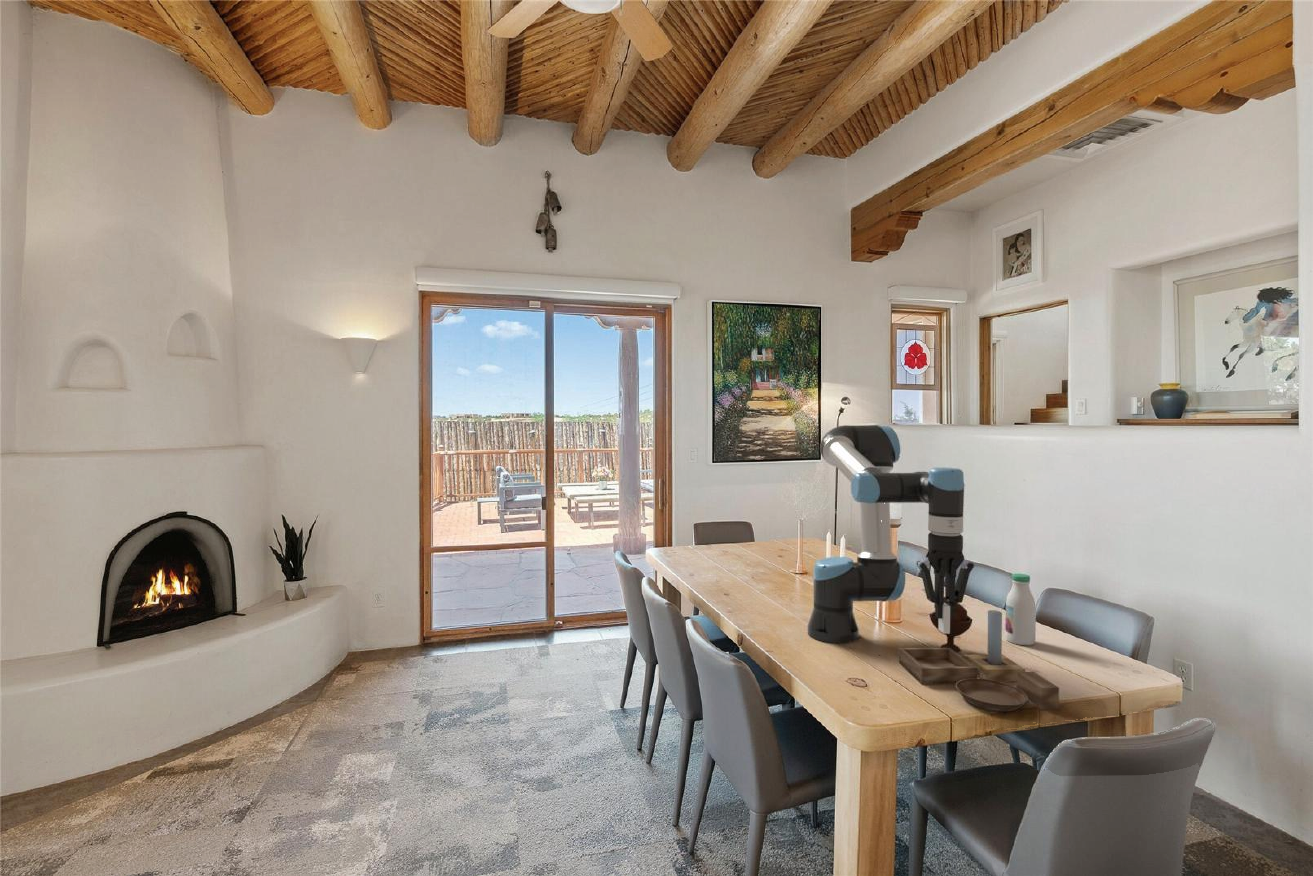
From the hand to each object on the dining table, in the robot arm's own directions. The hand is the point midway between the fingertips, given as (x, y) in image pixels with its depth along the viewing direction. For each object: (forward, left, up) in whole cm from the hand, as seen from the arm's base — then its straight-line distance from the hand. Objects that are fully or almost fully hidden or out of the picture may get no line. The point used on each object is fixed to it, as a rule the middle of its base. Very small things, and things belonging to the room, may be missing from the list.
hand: (944, 631), depth 147 cm
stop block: (+21, -3, -15) cm, 26 cm away
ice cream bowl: (+17, +30, -16) cm, 37 cm away
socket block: (+20, +13, -15) cm, 28 cm away
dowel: (+20, +13, -15) cm, 28 cm away
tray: (+5, +13, -15) cm, 21 cm away
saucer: (+10, -3, -16) cm, 19 cm away
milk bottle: (+41, +36, -16) cm, 56 cm away
